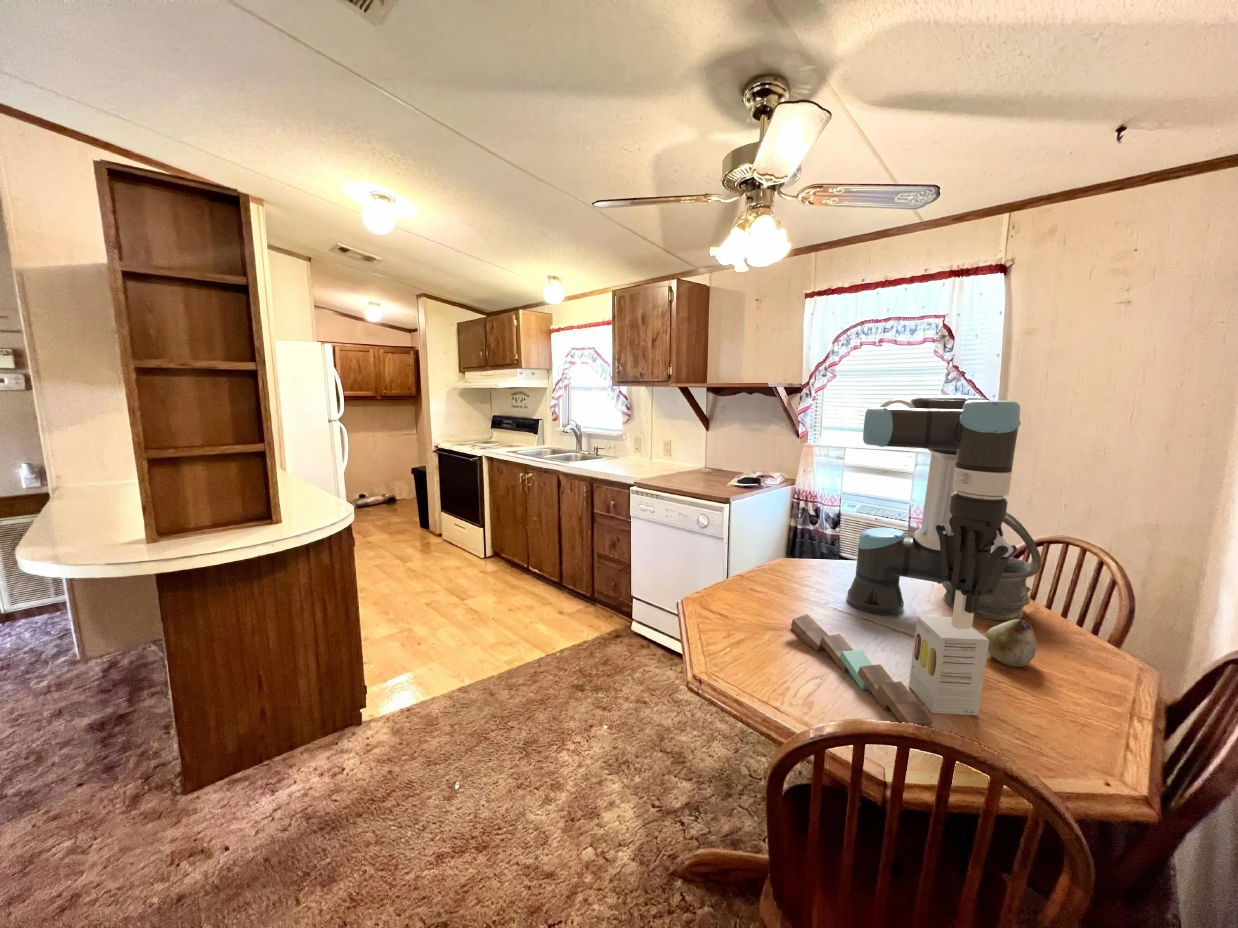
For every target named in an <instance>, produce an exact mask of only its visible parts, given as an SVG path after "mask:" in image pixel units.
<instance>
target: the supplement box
mask: <svg viewBox="0 0 1238 928" xmlns="http://www.w3.org/2000/svg"><path fill="white" fill-rule="evenodd" d="M951 624H952V616H931V615H930V616H928V615H917V617H916V624H915V626H916V627H915V635H914V642H913V650H912V657H911V666H910V673H909V681H908V686H909V687H910V688H911V689H912V692H914V693H915V694H916V696H917V697H918V698H919V699H920V700H921V702H922V703H923V704H924V705H925V706H926V708H928V710H929V711H930V712H931V713H932V714H945V715H946V714H947V715H962V716H963V715H964V716H965V715H966V716H978V715H979V710H980V703H981V697H982V692H983V691H982V690H983V683H984V677H985V669H986V664H987V658H988V653H989V651H988V646H989V639H987V638H986V637H985V635H983V634H982V633H981V632H979V631H978V630H977V629H976V628H974V627H973V626H972V628H967V629H957V628H955V627H954V626H952V625H951Z"/></svg>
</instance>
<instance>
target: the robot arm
mask: <svg viewBox="0 0 1238 928" xmlns="http://www.w3.org/2000/svg"><path fill="white" fill-rule="evenodd" d="M1020 414H1021V406H1020V404H1019V403H1018V402H1017V401H1015V400H1013V401H1012V400H995V399H994V400H993V399H992V400H988V399H987V398H985V397H983V396H975V395H974V396H973V395H967V394H963V395H923V394H919V395H917V394H916V395H907V396H901V397H897V398H894V399H890V400H888V401H885V402H884V403H883V404H881V405H880V406H879V407H870V408H867V410H866V411H865V415H864V420H863V421H864V422H863V431H862V432H863V433H862V441H863V443H864V444H865V445H867V446H874V447H875V446H877V447H881V448H884V447H887V448H888V447H891V448H908V449H909V448H911V449H913V448H914V449H923V450H924V449H926V450H928V451H929V452H930V453H931V454H930V461H929V468H928V474H927V475H928V476H927V482H926V489H925V490H926V491H925V498H924V503H923V504H924V505H923V511H922V519H921V524H920V525H921V527H920V528H919V529H917V530H915V531H914V533H913V537H910V536H906V534H905V532H904V531H903V530H901V529H898V528H896V529H895V528H892V527H873V528H867V529H865V530H863V531H862V532H860V535H859V539H858V543H857V548H858V549H857V557H856V558H857V559H856V567H855V576H854V578H853V581H852V583H851V585H850V588H848V591H847V595H846V596H847V597H846V600H847V603H849V604H850V605H851V606H853V607H854V608H856V609H858V610H861V611H863V612H865V613H870V614H873V615H878V616H879V615H880V616H897V615H900V614H901V613H903V612H904V607H905V606H904V605H905V602H904V599H903V595H902V594H903V593H902V591H901V587H900V577H903V578H904V577H905V578H909V579H915V580H920V581H921V580H922V581H925V582H926V581H927V582H933V583H937V584H939V585H942V584H950V585H951V586H952V587H953V591H952V599H951V603H952V605H954V607H952V608H953V609H952V610H953V611H952V616H951V617H952V624H951V625H952V626H954V627H955V628H957V629H967V628H972V627H973V622H974V617H975V615H974V613H977V611H978V607H979V600H980V596H985V595H992V594H994V591H995V589H996V587H997V585H998V582H999V580H1000V578H1001V575H1002V573H1003V571H1004V569H1005V566H1006V564H1007V562H1008V559H1009V558H1010V557H1012V556H1013V555H1015V554H1016V553H1017V551H1018V548H1017V546H1016V545H1015V544H1009V543H1008V542H1007V540H1005V538H1003V536H1004V532H1003V529H1002V523H1004V522H1003V521H1004V519H1005V517H1006V512H1007V510H1008V509H1007V508H1008V499H1007V498H1006V497H1007V496H1009V494H1010V490H1011V481H1012V473H1013V465H1014V458H1015V451H1016V445H1017V438H1018V433H1019V427H1020V426H1021V420H1020V418H1021V417H1020V416H1021V415H1020ZM989 555H990V556H989ZM988 556H989V558H988ZM987 559H988V561H987Z"/></svg>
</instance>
